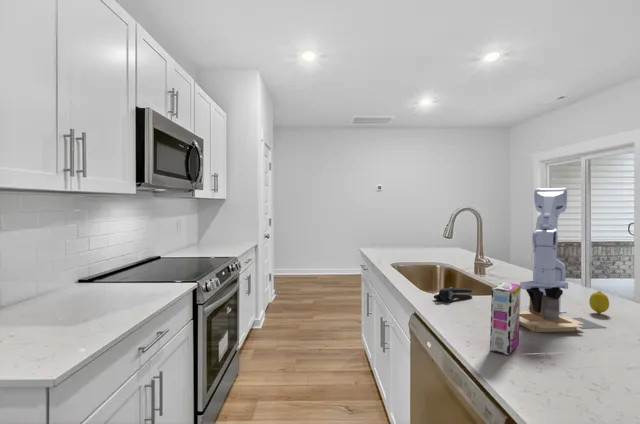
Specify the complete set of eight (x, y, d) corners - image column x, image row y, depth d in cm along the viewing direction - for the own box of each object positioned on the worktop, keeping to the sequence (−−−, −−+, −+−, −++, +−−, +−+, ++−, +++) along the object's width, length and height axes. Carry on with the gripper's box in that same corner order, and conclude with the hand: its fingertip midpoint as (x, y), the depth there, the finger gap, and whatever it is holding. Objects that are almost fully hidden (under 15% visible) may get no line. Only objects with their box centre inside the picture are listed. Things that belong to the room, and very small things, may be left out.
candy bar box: (510, 356, 92) (511, 291, 92) (489, 351, 95) (490, 288, 95) (520, 343, 101) (521, 284, 100) (500, 339, 104) (501, 281, 104)
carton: (501, 319, 123) (501, 311, 122) (552, 318, 124) (552, 310, 124) (532, 336, 107) (533, 327, 107) (591, 334, 108) (591, 326, 108)
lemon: (600, 316, 126) (601, 293, 126) (585, 312, 131) (585, 289, 131) (612, 315, 127) (613, 292, 127) (597, 311, 133) (597, 288, 133)
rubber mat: (558, 319, 123) (558, 318, 123) (580, 318, 123) (580, 317, 123) (582, 329, 113) (582, 328, 113) (606, 328, 113) (606, 327, 113)
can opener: (444, 305, 141) (444, 290, 140) (431, 300, 147) (431, 286, 147) (478, 300, 148) (479, 286, 147) (465, 296, 154) (465, 283, 154)
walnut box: (529, 312, 119) (529, 293, 119) (540, 312, 119) (541, 293, 119) (546, 320, 111) (547, 300, 111) (558, 319, 111) (559, 300, 111)
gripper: (530, 270, 110) (530, 315, 111) (576, 270, 112) (575, 314, 112) (516, 266, 117) (515, 309, 118) (559, 266, 119) (558, 308, 119)
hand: (543, 311), depth 115 cm, fingers closed on walnut box, 4 cm apart
